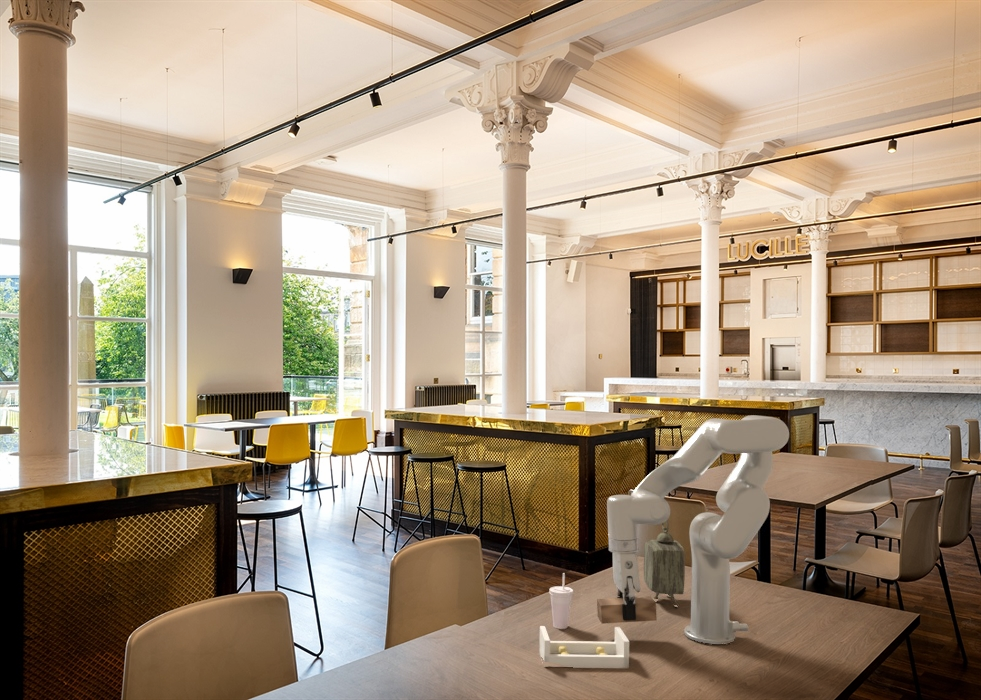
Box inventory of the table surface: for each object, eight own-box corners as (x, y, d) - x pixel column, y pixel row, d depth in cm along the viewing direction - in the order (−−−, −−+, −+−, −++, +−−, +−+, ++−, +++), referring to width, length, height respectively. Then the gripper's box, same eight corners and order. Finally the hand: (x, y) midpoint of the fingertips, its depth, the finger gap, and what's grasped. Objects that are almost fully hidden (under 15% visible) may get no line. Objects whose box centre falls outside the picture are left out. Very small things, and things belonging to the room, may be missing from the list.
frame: (619, 652, 170) (619, 627, 170) (628, 668, 160) (629, 641, 161) (539, 651, 169) (539, 626, 169) (544, 667, 159) (544, 640, 160)
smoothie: (571, 631, 183) (572, 577, 183) (546, 629, 184) (548, 575, 185) (573, 623, 189) (574, 570, 190) (549, 621, 190) (551, 568, 191)
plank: (651, 613, 182) (650, 596, 183) (656, 620, 177) (655, 602, 178) (597, 616, 182) (596, 599, 182) (601, 623, 177) (600, 605, 177)
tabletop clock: (684, 610, 203) (685, 523, 204) (652, 609, 203) (654, 522, 204) (671, 595, 217) (673, 513, 218) (642, 594, 217) (644, 512, 218)
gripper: (647, 552, 172) (650, 627, 171) (629, 536, 189) (632, 604, 188) (616, 553, 171) (619, 629, 171) (602, 537, 188) (605, 606, 188)
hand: (626, 615), depth 180 cm, fingers closed on plank, 5 cm apart
